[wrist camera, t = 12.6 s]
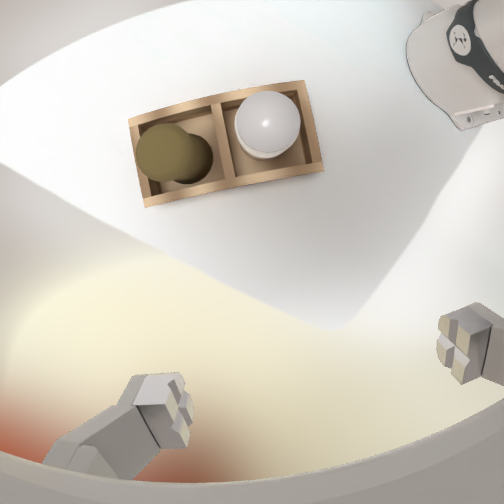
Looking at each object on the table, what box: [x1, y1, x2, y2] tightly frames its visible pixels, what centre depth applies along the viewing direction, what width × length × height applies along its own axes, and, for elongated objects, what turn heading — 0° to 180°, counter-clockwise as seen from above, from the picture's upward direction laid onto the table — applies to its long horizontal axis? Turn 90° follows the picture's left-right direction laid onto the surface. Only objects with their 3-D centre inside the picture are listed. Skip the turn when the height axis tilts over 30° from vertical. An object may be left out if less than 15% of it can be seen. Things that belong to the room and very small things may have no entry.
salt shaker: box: [235, 91, 300, 161], centre depth 29 cm, size 6×6×10 cm
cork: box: [135, 123, 213, 184], centre depth 29 cm, size 6×6×11 cm
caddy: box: [128, 80, 324, 208], centre depth 32 cm, size 19×10×5 cm, turn 101°
